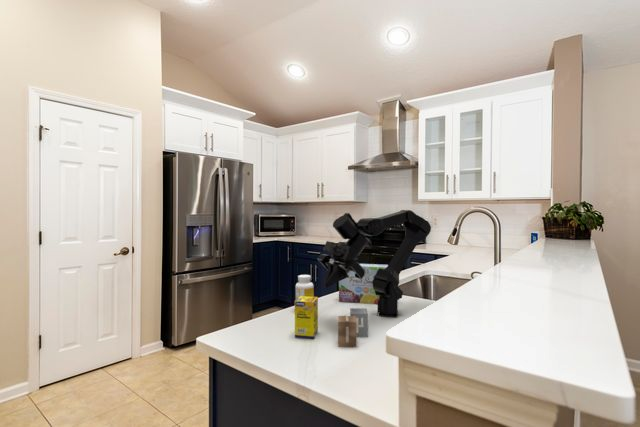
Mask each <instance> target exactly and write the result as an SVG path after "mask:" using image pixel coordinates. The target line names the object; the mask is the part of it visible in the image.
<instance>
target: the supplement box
mask: <svg viewBox="0 0 640 427" xmlns="http://www.w3.org/2000/svg"><path fill="white" fill-rule="evenodd" d="M318 298H319V297H318V296H314V297H307V296H300V297H299V298H298V299H297V300H296V299H295V300H294V338H298V339H308V338H310V339H309V340H312V339H313V340H314V339H315V337H316V335H317V334H318V332H319V324H318V323H319V321H318V320H319V305H318V304H319V303H318V302H319V299H318Z"/></svg>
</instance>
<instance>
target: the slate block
mask: <svg viewBox="0 0 640 427" xmlns="http://www.w3.org/2000/svg"><path fill="white" fill-rule="evenodd" d="M349 310H350V312H349V313H350V314H349V316H356V338H369V313H368V309H367V307H365V308H360V307H359V308H358V307H357V308H356V307H354V308H353V307H352V308H351V307H350V309H349Z"/></svg>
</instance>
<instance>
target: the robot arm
mask: <svg viewBox="0 0 640 427" xmlns="http://www.w3.org/2000/svg"><path fill="white" fill-rule="evenodd" d="M400 224H402V226H403V227H404V228H405V229H404V234H405V235H404V238H403V240H402V241H401V242H400V244H399V247H398V248H397V250H396V252H395V254H394V255H393V257H392V258H391V260H390V261H389V263H388V264H387V265H388V266H387V268H385V269H380V268H379V269H378V271H377V273H376V275H375V276H374V277H373V278H374V279H373V282H372V284H373V289H374V291H375V294H376V295H379V299H378V304H377V313H378V315H377V316H381V317H393V318H398V316H399V310H398V309H399V306H398V305H399V300H400V299H402V298H403V295H404V291H403V290H402V289H401V288H400V287H399V284H400V274H401V272H402V271H403V269H404V267H405V266H406V264H407V263H408V261H409V259H410V258H411V255H412V254H413V252H414V250H415V249H416V246H417V245H418V244H419V243H421V242H422V241H424V240H426V238H427V237H428V236H429V235H430V233H431V231H432V230H431V229H432V226H431V224H430V222H429V221H428V220H426V219H424V217H421V216H419V215H418V214H416V213H415V212H414V211H413V210H410V209H402V210H399V211H396V212H393V213H390V214H386V215H383V216H380V217H365V218H360V219H359V220H358V221H356V220H355V219H354V218H353V216H352V215H351V214H350V212H345V213H344V214H343V215H341V216H339V217H338V218H337V219H335V220H334V221H333V223H332V227H333V229H334V230H335V231H336V232H337V233H338V234H339V235H340V237H341V239H343V240H347V241H346V242H343V241H338V242H334V241H329V240H327V241H326V243H325V244H324V247H323V251H324V252H327V253H329V254H325V253H321V254H319V256H318V257H317V261H319V263H320V264H321V265H322V266H323V267H324V268H325V269H326V270H327V272H326V276H325V279H324V282H323V287H324V288H329V287H331V286H333V285H334V284H336V283H339V281H341V280H343V279H345V278H349V276H348V274H349V273H350V272H352V271H353V272H355V277H356V278H359V279H362V278H363V276H364V275H365V270H364V269H363V268H362V266H361V265H360V264H361V263H359V262H358V261H359V260H360V259H361V257H360V254H361V253H362V252H363V250H364V249H365V247H366V248H372V247H373V244H372V239H370V238H368V237H377V236H378V235H380V234H381V233H383V232H384V231H385V230H386V229H387V228H392V227H394V226H398V225H400ZM367 236H368V237H367ZM330 254H331V255H330ZM357 260H358V261H357Z"/></svg>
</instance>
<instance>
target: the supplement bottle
mask: <svg viewBox="0 0 640 427" xmlns="http://www.w3.org/2000/svg"><path fill="white" fill-rule="evenodd" d="M311 279H312V277H311V275H310V274H300V275H297V281H298V282H296V284H295V301H296V300H297V299H298V298H299V297H300V296H307V297H315V295H314V293H315V292H314V291H315V290H314V283H313V282H311Z"/></svg>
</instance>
